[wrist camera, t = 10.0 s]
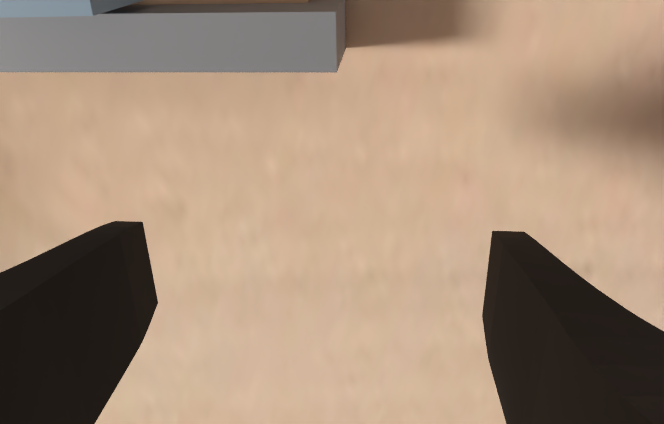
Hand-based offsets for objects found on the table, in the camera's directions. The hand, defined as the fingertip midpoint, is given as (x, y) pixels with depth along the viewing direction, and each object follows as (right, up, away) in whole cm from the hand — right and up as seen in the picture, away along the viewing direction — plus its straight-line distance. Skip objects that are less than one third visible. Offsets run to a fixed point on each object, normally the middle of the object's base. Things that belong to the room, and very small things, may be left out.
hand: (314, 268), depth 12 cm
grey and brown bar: (-9, +8, +8) cm, 14 cm away
